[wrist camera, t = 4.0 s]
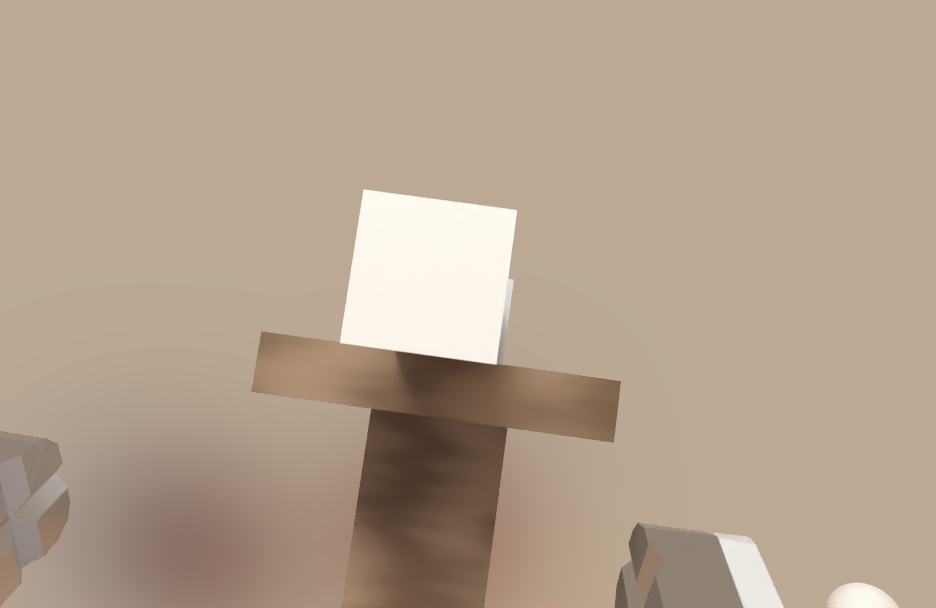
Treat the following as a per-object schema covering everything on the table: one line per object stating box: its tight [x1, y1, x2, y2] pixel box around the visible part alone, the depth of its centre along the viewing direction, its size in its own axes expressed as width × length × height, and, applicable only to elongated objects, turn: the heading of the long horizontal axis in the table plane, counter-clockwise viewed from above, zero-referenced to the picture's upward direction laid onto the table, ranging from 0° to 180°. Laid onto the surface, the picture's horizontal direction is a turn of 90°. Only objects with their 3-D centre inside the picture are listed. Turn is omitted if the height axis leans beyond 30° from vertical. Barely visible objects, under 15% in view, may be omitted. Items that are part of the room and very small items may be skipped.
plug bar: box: [340, 190, 517, 365], centre depth 23 cm, size 5×22×4 cm, turn 0°
